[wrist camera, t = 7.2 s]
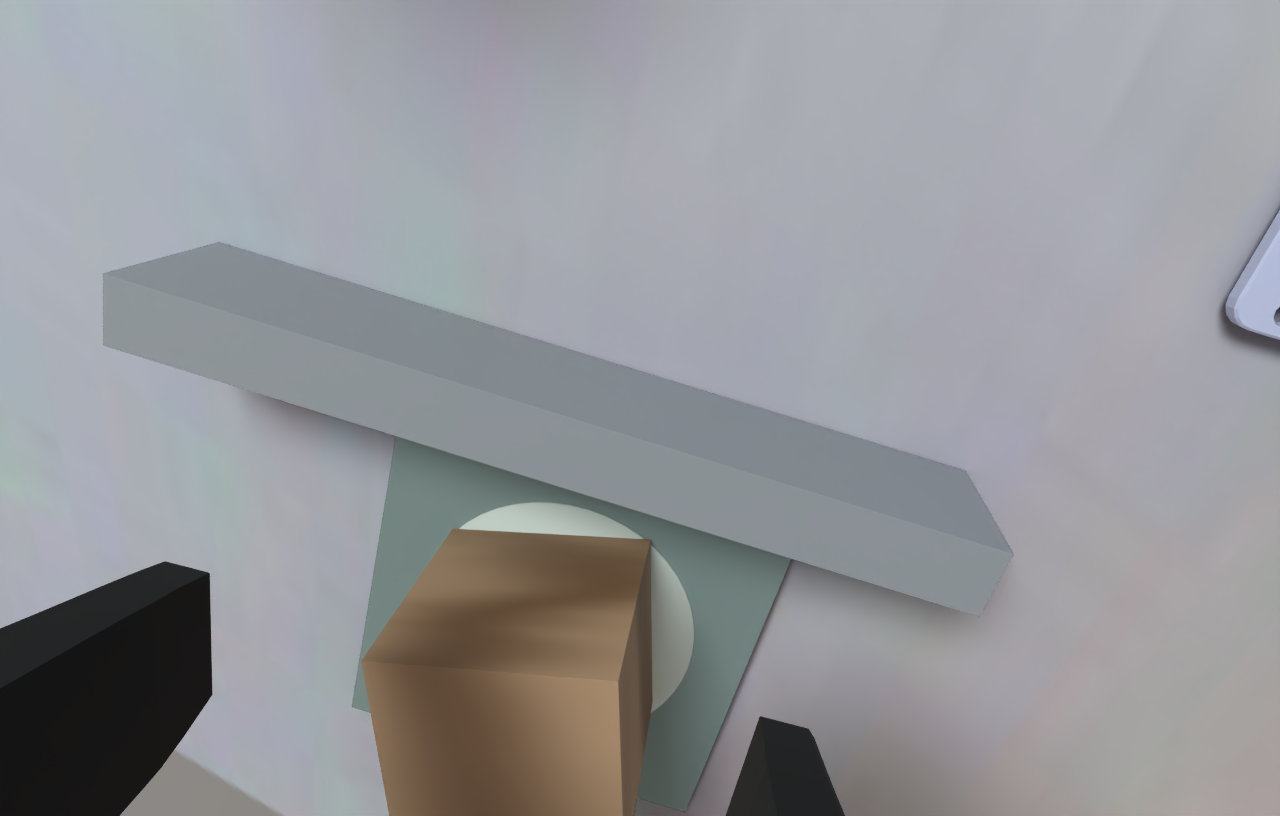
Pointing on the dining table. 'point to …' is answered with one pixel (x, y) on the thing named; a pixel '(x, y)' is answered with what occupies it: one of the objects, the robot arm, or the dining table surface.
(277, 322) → the low wall
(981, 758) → the dining table surface
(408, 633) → the walnut block
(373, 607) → the mat
